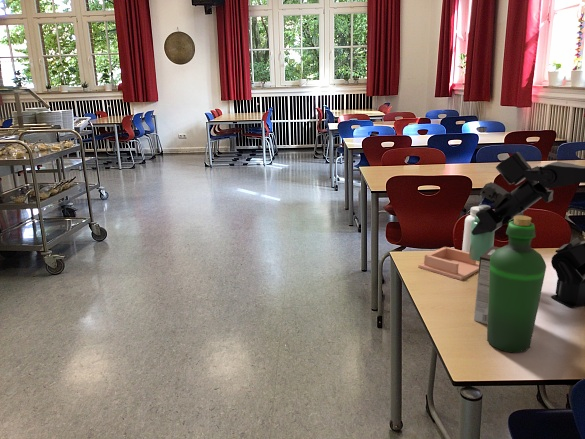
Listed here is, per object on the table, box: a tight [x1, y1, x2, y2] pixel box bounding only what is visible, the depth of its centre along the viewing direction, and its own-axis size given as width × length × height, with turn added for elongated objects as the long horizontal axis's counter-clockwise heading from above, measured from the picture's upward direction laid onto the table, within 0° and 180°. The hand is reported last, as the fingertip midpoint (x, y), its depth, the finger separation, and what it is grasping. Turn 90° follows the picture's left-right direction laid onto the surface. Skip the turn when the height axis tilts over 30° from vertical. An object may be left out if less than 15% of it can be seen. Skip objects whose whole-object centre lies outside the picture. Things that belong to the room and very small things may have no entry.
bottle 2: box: [486, 215, 547, 353], centre depth 101 cm, size 11×11×28 cm
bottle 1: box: [469, 204, 496, 262], centre depth 137 cm, size 6×6×15 cm
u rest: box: [418, 246, 479, 281], centre depth 147 cm, size 14×14×4 cm
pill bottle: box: [461, 205, 479, 252], centre depth 157 cm, size 8×8×15 cm
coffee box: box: [473, 245, 501, 325], centre depth 114 cm, size 9×6×16 cm
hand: (477, 231), depth 138 cm, fingers closed on bottle 1, 6 cm apart
